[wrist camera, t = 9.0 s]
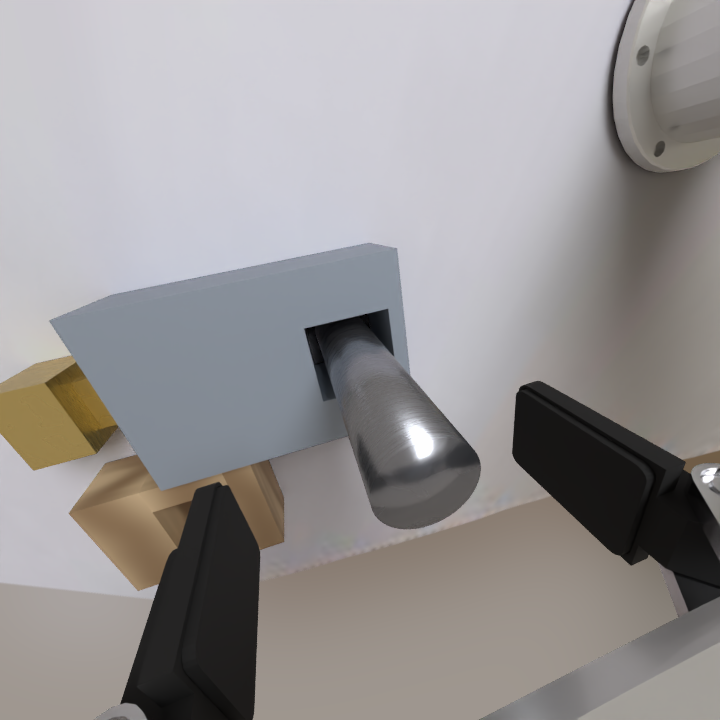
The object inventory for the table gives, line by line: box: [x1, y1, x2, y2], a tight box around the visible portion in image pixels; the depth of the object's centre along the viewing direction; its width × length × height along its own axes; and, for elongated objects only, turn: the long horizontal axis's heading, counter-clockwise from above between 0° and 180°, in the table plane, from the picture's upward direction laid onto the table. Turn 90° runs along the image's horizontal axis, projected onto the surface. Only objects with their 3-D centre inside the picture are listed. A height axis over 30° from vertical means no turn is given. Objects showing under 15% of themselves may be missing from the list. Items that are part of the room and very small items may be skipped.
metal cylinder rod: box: [315, 316, 481, 529], centre depth 14 cm, size 3×3×14 cm
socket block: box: [50, 243, 410, 491], centre depth 18 cm, size 15×10×5 cm, turn 100°
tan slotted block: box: [69, 455, 284, 591], centre depth 21 cm, size 10×8×4 cm
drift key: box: [0, 356, 118, 470], centre depth 17 cm, size 13×4×4 cm, turn 100°
